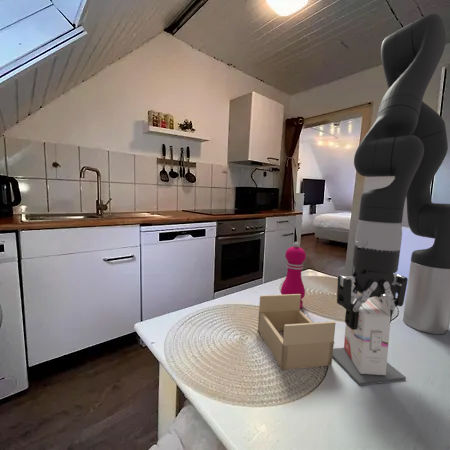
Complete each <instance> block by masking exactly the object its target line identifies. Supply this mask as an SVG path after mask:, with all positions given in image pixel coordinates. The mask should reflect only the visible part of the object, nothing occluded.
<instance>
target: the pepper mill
mask: <svg viewBox="0 0 450 450" xmlns="http://www.w3.org/2000/svg"><path fill="white" fill-rule="evenodd" d="M292 245H293V246H291V247H289V248H287V249H286V251H285V255H284V256H285V259H286V260H287V261H286V265H285V266H286V268H287V272H286V276H285V277H284V278H285V279H284V280H283V282H282V284H281V287H280V293H281V294H280V295H286V294H301V300H300V310H301V309H302V308H303V300H302V299H303V298H305V295H306V290H305V289H306V288H305V285H304V282H303V280H302V271H303V269H304V262H305V260H306V259H307V254H306V251H305V250H304V249H303V248H302V247H300V242H298V241H294V242H293V244H292Z"/></svg>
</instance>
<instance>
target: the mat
mask: <svg viewBox="0 0 450 450" xmlns="http://www.w3.org/2000/svg"><path fill="white" fill-rule="evenodd" d="M332 360H334V361H335V362H336V363H337V364H338V365H339V366H340V368H342V369H343V370H344V371H345V372H346V373H347V374H348V375H349V376H350V377H351V379H353V381H354V382H355V383H356V384H357V385H358V386H365V385H366V386H367V385H373V384H383V383H389V382H390V383H391V382H399V381H400V382H401V381H406V380H407V377H406V376H405V375H404V374H403V373H401V372H400V371H399V370H398V369H397V368H395V367H394V366H392V365H391V364H390V363H389V362H387V366H386V375H374V374H360V372H359V371H358V369H357V368H356V366H355V364H354V363H353V361H352V360H351V358H350V357H349V355H348V353H347V352H346V350H345V349H344V347H338V348H337V347H336V348H333V356H332Z"/></svg>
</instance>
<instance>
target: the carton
mask: <svg viewBox="0 0 450 450" xmlns="http://www.w3.org/2000/svg"><path fill="white" fill-rule="evenodd" d="M300 300H302V299H301V294H286V295H282V294H269V295H268V294H266V295H260V296H259V309H258V319H257V320H258V321H257V331H258V332H259V334H260V336H261V337H262V339H263V341H264V342H265V344H266V346H267V347H268V350H269V351H270V353H271V354H272V356H273V358H274V359H275V361H276V363H277V364H278V365H279V367H280V369H281V370H282V371H288V370H297V369H298V370H299V369H308V368H317V367H328V366H332V365H333V358H332V356H333V349H334V345H335V334H336V333H335V332H336V321H335V320H334V321H325V322H324V321H323V322H322V321H321V322H313V321H312V320H311V319H310V318H309V317H308V316H307V315H306V314H305V313H304V312H302V310H301V309H300ZM279 331H283V337H282V335H281V334H280V333H279Z"/></svg>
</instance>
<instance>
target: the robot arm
mask: <svg viewBox="0 0 450 450" xmlns="http://www.w3.org/2000/svg"><path fill="white" fill-rule="evenodd" d="M446 34H447V33H446V29H445V23H444V21H443V19H442V17H441V15H439V14H438V13H429V14H426V15H423V16H421V17H420V18H418V19H416V20H415V21H412V22H410V23H409V24H407V25H405V26H403V27H401V28H400V29H398V30H396V31H394V32H393V33H390V34H389V35H387V36H386V37H385V38H384V39H383V41H382V42H381V46H380V57H381V59H380V60H381V64H382V70H383V72H384V76H385V77H384V78H385V80H386V83H387V88H388V89H387V91H386V92H385V94H384V95H383V97H382V100H381V101H380V103H379V108H378V110H377V114H376V117H375V120H374V123H373V124H372V125H371V127H370V128H369V130H368V132H366V134H365V136H364V137H363V138H362V139H361V141H360V143H359V144H358V146H357V148H356V150H355V153H354V156H353V157H354V158H353V164H354V165H353V166H354V169H355V171H356V172H357V173H358V174H359V175H360V176H363V177H366V178H367V177H369V178H376V177H378V178H379V177H394V178H393V181H392V182H391V183H390V184H388V185H386V186H384V187H380V188H373V189H368V190H366V191H364V192H363V193H362V195H361V197H360V206H359V215H358V221H357V222H358V223H357V227H356V230H355V240H354V246H353V247H354V248H353V250H354V251H353V255H352V257H353V259H352V265H353V267H354V271H353V273H352V274H351V275H348V276H347V275H346V276H344V275H343V274H339V275H338V276H337V285H336V286H337V291H336V304H338V305H339V306H341V307H343V308H344V309H345V315H344V316H345V317H344V322H345V325H346V324H347V326H348V327H349V328H351V329H352V330H356V329H357V324H358V315H359V312H358V310H359V308H360V306H361V305H362V303H365V302H366V301H367V299H370V297H374V296H376V298H378V300H379V301H380V302H381V303H382V300H381V299H380V298H379V297H381V294H383V295H384V296H385V297H387V298H388V299H389V300H390V317H391V318H390V324H391V322H392V318H393V311H394V310H395V309H396V307H397V306H399V307H402V306H403V305H404V310H403V317H402V321H403V322H404V323H405V324H406V326H409V327H411V328H413V329H414V330H415V329H416V331H417V330H418V331H420V332H424V333H428V334H432V335H443V334H445V333H446V332H447V331H449V330H450V203H440V202H439V203H437V202H435V203H434V202H433V201H432V196H431V195H432V194H431V185H432V183H433V182H432V181H433V179H434V177H435V176H436V174H437V172H438V170H439V169H440V167H441V165H442V164H443V162H444V160H445V159H446V156H447V153H448V149H449V143H448V137H447V129H446V128H447V126H446V123H445V120H444V119H443V117H442V116H441V115H440V114H439V113H438V112H437V111H436V110H434V109H433V108H432V107H431V106H430V105H428V104H427V103H426V102H424V101H423V99H424V97H425V94H426V90H427V88H428V86H429V84H430V82H431V80H432V79H433V76H434V73H435V71H436V69H437V67H438V65H439V63H440V60H441V58H442V56H443V53H444V50H445V47H446V42H447V41H446V39H447V36H446ZM405 203H406V213H407V215H406V216H407V223H408V224H407V225H408V227H409V229H410V232H412V233H413V234H414V235H415V236H418V237H421V238H422V237H423V238H428V239H429V238H430V239H434V242H433V245H432V246H431V247H428V248H422V249H416V250H415V249H414V250H413V252H411V257H410V264H409V265H410V266H409V271H408V272H409V273H408V277H406V276H404V275H401V274H398V273H397V272H398V271H399V264H400V263H399V262H400V253H401V246H402V240H403V218H404V217H403V216H404V208H405ZM358 293H360V295H358ZM396 295H397V296H396ZM355 299H356V301H355V302H354V300H355ZM353 302H354V304H353ZM404 302H405V303H404Z"/></svg>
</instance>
